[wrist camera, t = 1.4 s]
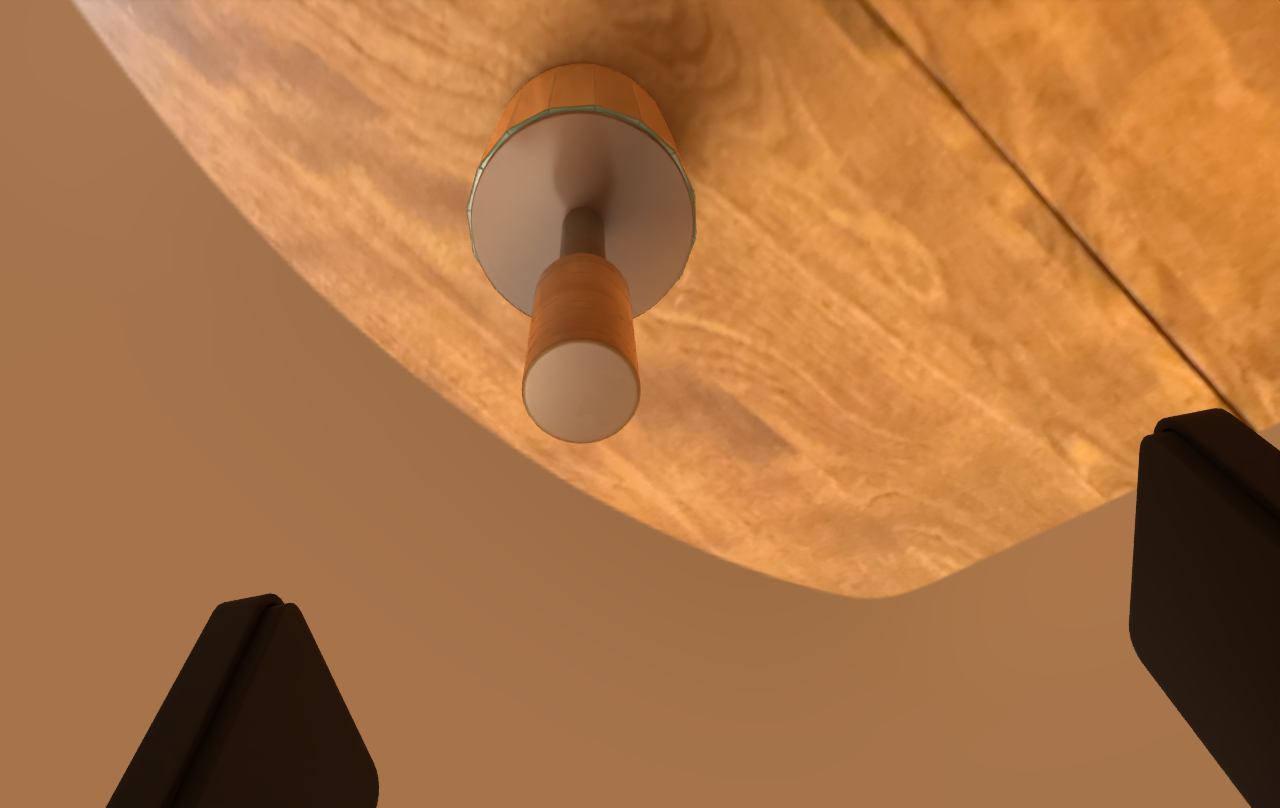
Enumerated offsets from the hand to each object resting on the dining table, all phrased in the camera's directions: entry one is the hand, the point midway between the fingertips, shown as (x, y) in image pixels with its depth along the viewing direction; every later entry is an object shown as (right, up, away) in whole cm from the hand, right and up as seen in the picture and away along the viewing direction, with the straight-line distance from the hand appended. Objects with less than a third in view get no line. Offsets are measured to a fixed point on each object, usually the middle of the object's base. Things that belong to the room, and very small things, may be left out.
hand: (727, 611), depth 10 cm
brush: (-3, +11, +24) cm, 26 cm away
